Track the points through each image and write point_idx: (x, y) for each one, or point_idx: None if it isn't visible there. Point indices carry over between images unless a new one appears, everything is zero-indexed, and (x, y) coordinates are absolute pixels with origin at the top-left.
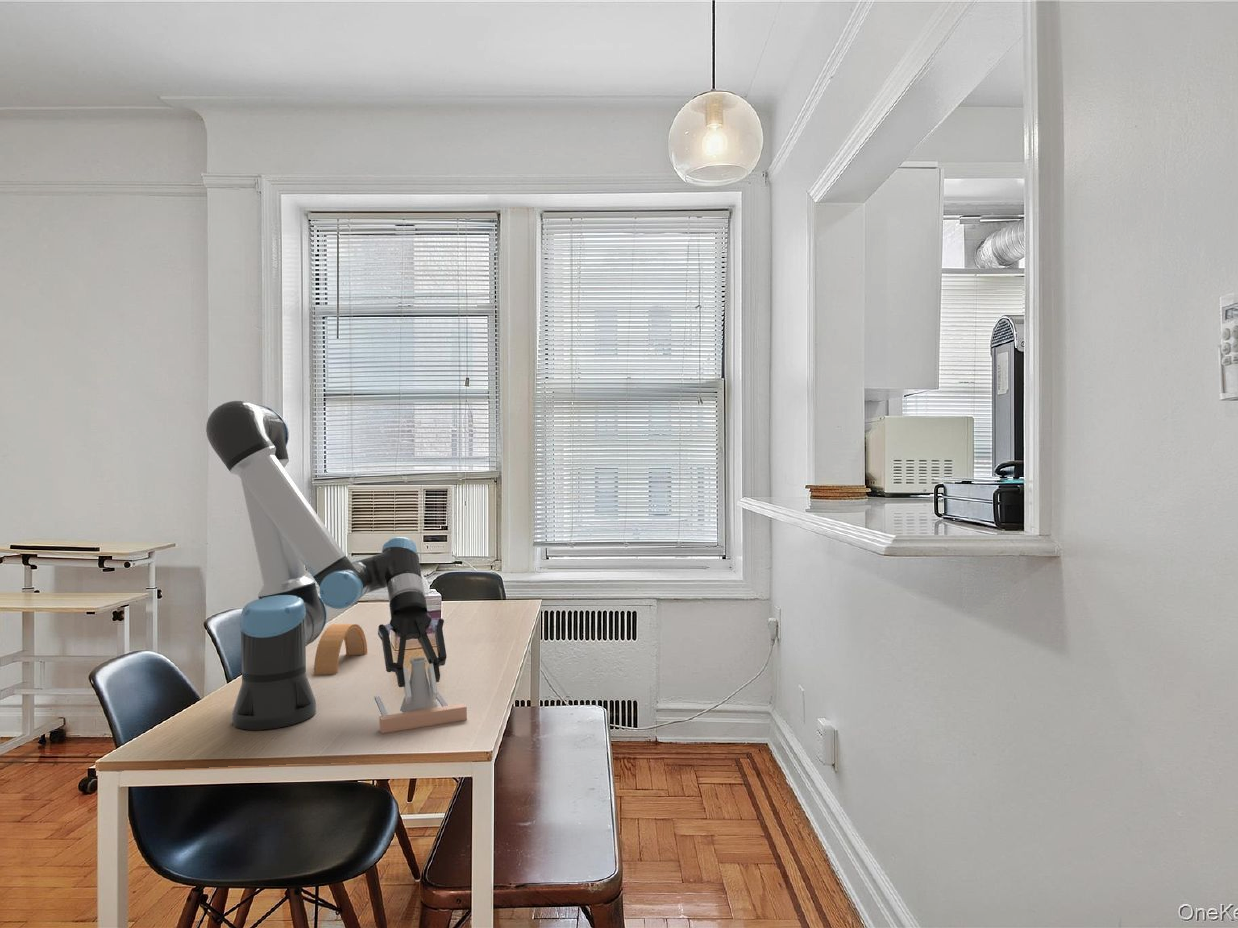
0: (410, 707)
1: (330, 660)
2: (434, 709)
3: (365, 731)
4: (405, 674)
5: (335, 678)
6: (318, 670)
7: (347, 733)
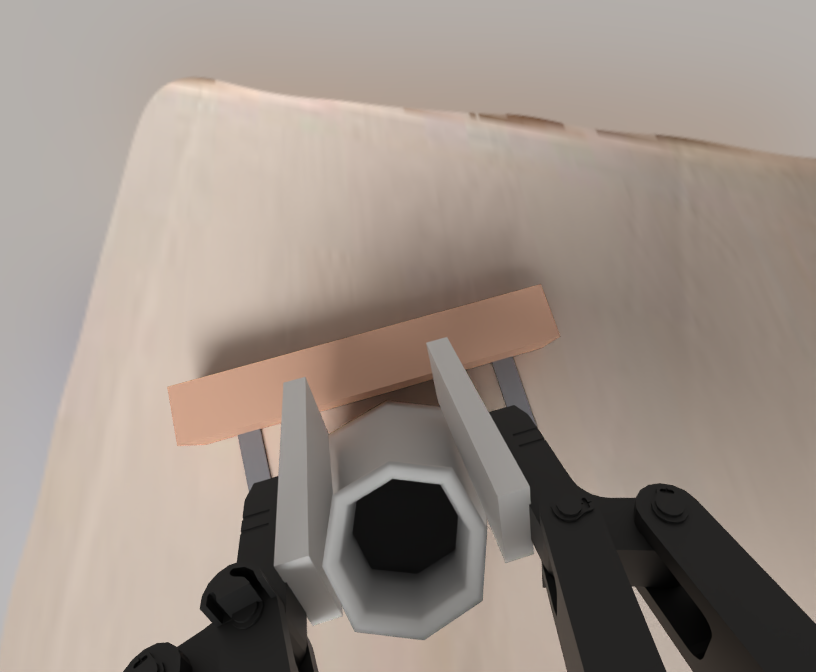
0: (435, 414)
1: None
2: (319, 378)
3: (592, 337)
4: (493, 434)
5: None
6: None
7: (656, 329)
